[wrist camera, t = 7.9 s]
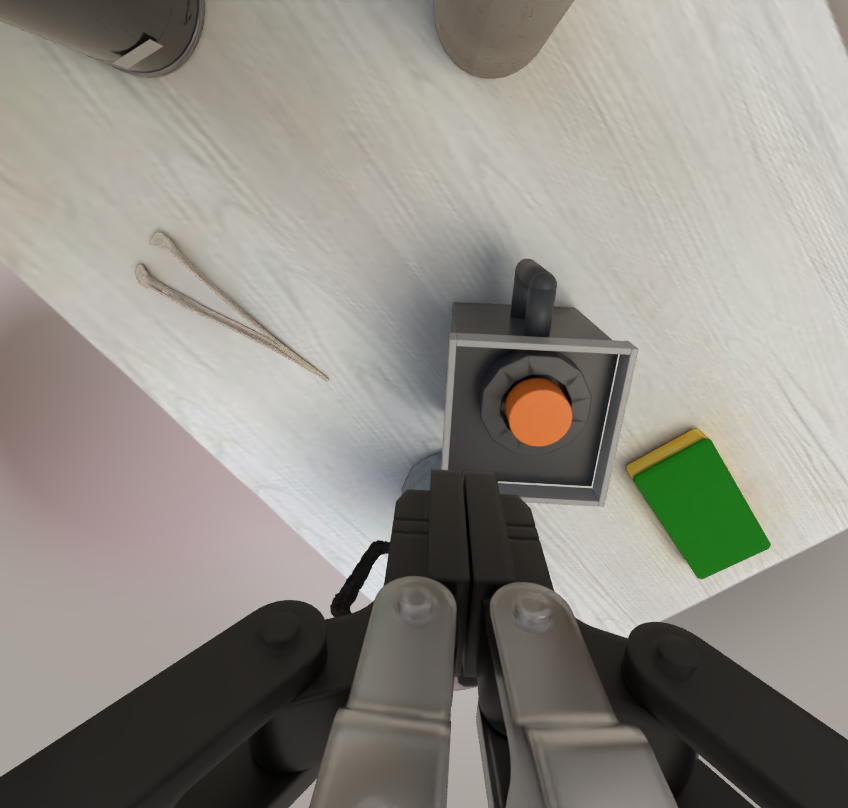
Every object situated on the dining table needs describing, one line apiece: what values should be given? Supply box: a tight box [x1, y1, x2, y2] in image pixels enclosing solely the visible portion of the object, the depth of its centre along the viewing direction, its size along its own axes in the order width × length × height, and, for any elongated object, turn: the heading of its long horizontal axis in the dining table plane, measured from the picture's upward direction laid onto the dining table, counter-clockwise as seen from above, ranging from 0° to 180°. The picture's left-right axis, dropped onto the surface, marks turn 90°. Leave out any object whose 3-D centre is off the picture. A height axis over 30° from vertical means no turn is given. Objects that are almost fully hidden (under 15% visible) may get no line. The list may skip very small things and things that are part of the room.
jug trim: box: [441, 259, 638, 507], centre depth 34 cm, size 11×14×10 cm
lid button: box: [505, 378, 572, 447], centre depth 29 cm, size 4×4×2 cm
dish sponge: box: [626, 429, 771, 579], centre depth 46 cm, size 7×14×2 cm, turn 36°
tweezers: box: [135, 232, 329, 381], centre depth 41 cm, size 17×5×2 cm, turn 52°
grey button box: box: [448, 302, 618, 486], centre depth 36 cm, size 10×10×13 cm
